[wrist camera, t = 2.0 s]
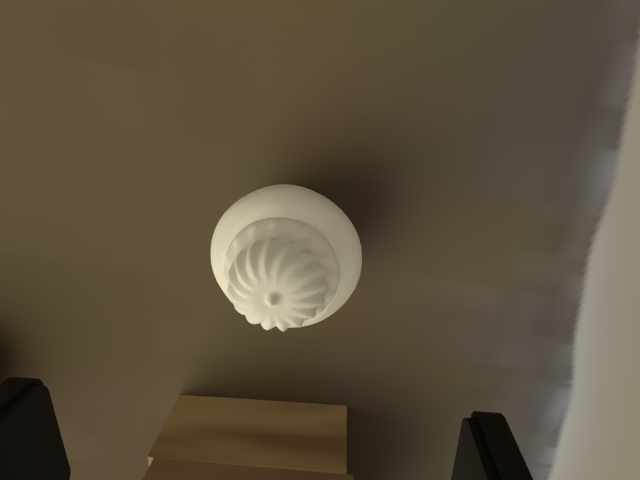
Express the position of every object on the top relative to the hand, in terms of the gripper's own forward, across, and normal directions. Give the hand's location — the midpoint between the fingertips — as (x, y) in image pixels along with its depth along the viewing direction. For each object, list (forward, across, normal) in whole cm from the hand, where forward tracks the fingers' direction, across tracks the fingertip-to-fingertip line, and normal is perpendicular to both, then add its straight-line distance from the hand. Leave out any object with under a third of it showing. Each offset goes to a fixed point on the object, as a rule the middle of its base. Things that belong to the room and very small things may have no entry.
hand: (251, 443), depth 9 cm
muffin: (+12, +1, -1) cm, 12 cm away
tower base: (+12, +3, +15) cm, 20 cm away
